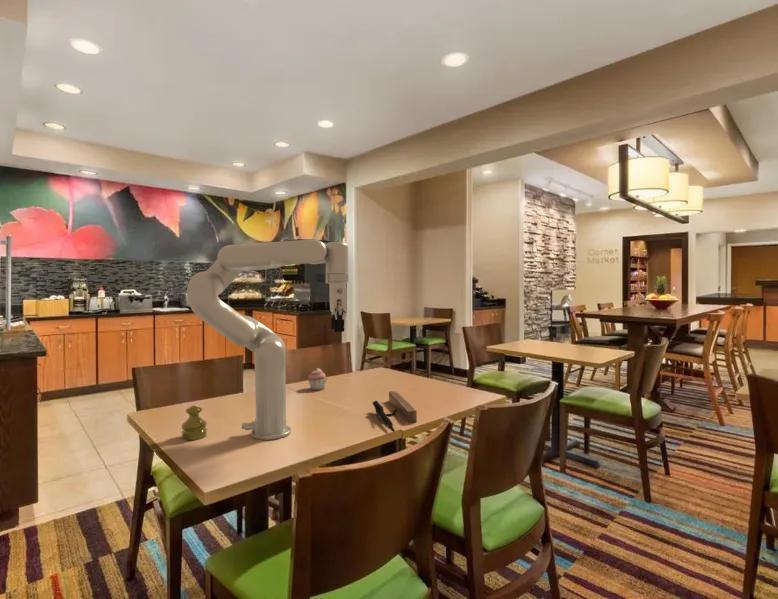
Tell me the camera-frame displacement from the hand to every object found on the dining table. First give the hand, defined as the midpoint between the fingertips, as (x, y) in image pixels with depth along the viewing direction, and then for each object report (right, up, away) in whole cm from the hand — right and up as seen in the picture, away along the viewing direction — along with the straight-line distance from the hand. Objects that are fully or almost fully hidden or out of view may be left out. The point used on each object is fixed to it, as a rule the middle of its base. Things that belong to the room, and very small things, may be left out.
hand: (337, 330), depth 149 cm
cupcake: (-16, -32, +58) cm, 68 cm away
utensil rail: (+22, -32, +22) cm, 45 cm away
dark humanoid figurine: (+18, -33, +10) cm, 39 cm away
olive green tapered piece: (-45, -34, -6) cm, 57 cm away
